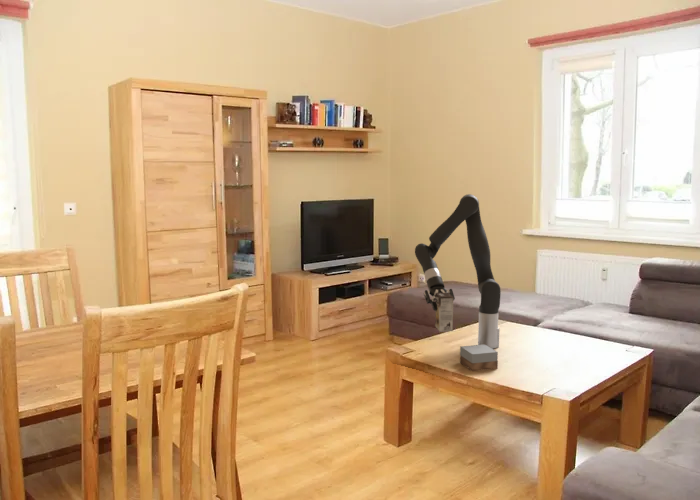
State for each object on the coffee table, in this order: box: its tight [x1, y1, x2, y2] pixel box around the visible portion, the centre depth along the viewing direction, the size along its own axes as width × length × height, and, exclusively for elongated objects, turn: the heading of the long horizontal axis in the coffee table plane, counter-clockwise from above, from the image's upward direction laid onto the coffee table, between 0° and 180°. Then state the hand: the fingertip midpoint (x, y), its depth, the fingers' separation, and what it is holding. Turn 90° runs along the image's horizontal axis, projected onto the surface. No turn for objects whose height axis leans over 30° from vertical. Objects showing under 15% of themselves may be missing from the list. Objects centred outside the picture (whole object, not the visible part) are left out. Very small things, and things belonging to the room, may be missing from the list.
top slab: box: [459, 344, 499, 363], centre depth 273 cm, size 12×12×4 cm
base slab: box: [459, 354, 499, 372], centre depth 274 cm, size 12×12×4 cm
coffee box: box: [434, 293, 454, 333], centre depth 283 cm, size 9×6×16 cm
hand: (443, 309), depth 284 cm, fingers closed on coffee box, 7 cm apart
